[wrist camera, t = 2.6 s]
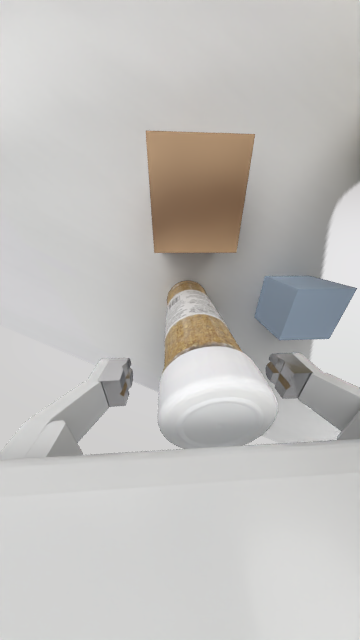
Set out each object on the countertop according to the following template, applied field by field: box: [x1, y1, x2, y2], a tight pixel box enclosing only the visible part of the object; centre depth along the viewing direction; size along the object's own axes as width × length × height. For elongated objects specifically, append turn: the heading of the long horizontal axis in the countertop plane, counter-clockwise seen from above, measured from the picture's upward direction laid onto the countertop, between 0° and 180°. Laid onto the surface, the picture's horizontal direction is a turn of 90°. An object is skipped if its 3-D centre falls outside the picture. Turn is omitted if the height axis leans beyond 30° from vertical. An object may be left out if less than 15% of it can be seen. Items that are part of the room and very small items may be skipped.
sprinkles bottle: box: [158, 281, 278, 449], centre depth 11 cm, size 5×5×14 cm
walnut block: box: [146, 131, 255, 253], centre depth 11 cm, size 6×6×6 cm
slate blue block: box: [255, 276, 357, 340], centre depth 16 cm, size 5×5×5 cm
